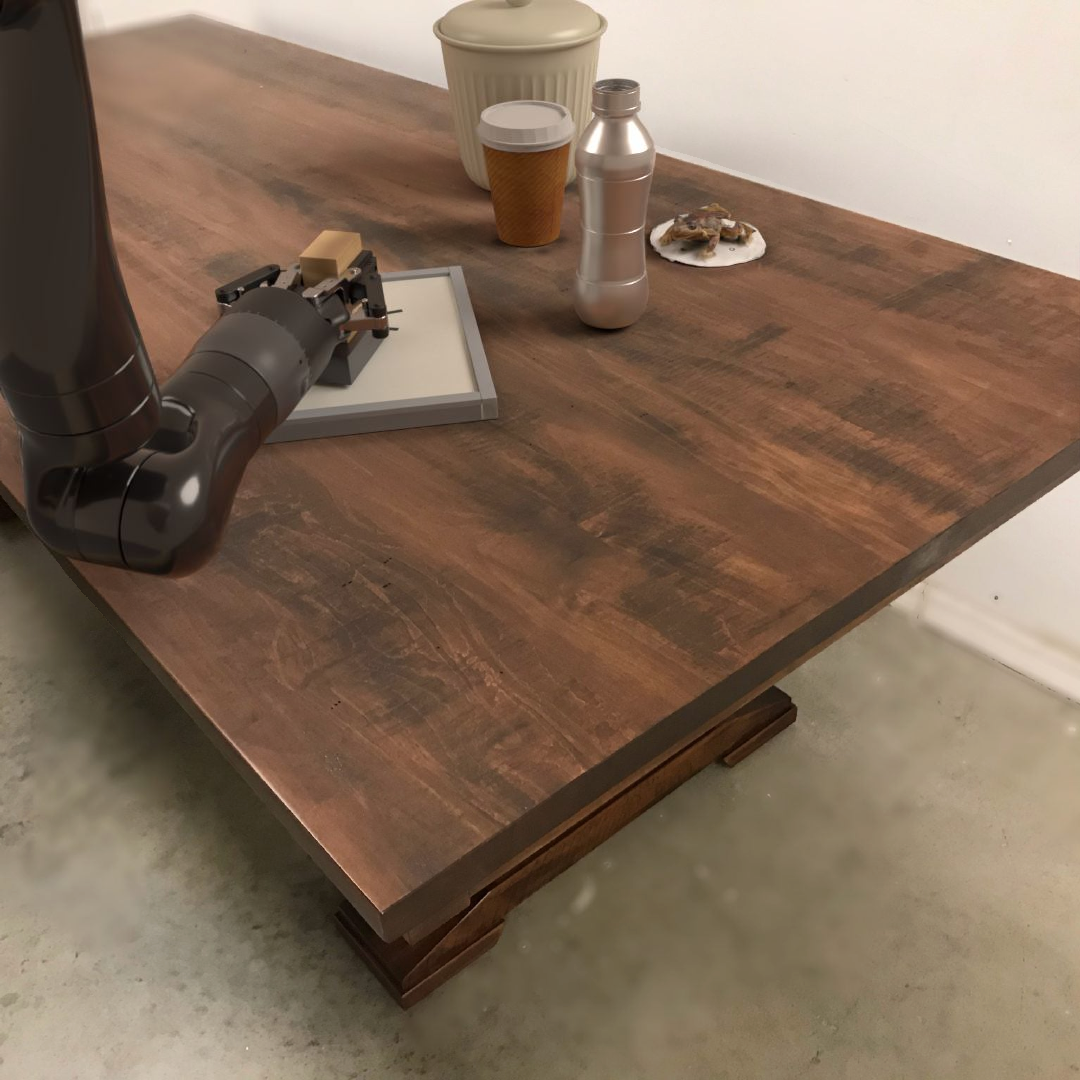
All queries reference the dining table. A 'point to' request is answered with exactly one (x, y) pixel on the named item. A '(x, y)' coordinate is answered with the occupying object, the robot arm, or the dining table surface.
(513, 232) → the disposable coffee cup
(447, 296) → the whiteboard
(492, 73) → the canister
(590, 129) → the silver bottle
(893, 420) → the dining table surface
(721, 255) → the frog figurine
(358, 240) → the eraser
